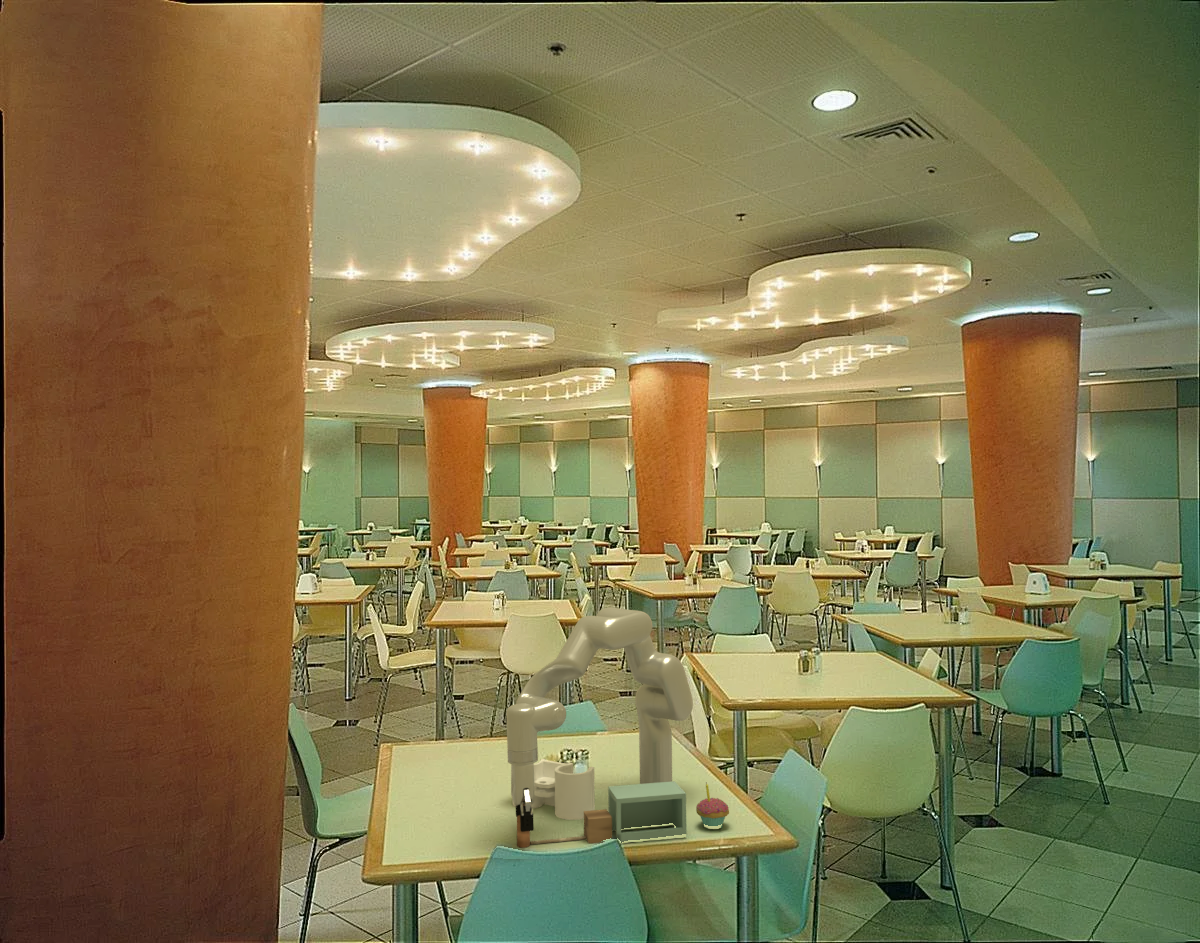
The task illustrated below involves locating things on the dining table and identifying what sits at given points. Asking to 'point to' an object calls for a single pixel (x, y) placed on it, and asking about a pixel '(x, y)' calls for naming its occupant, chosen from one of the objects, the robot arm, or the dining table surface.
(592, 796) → the bracket
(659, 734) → the robot arm
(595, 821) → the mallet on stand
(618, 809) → the plain rectangular box
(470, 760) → the dining table surface
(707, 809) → the cupcake
